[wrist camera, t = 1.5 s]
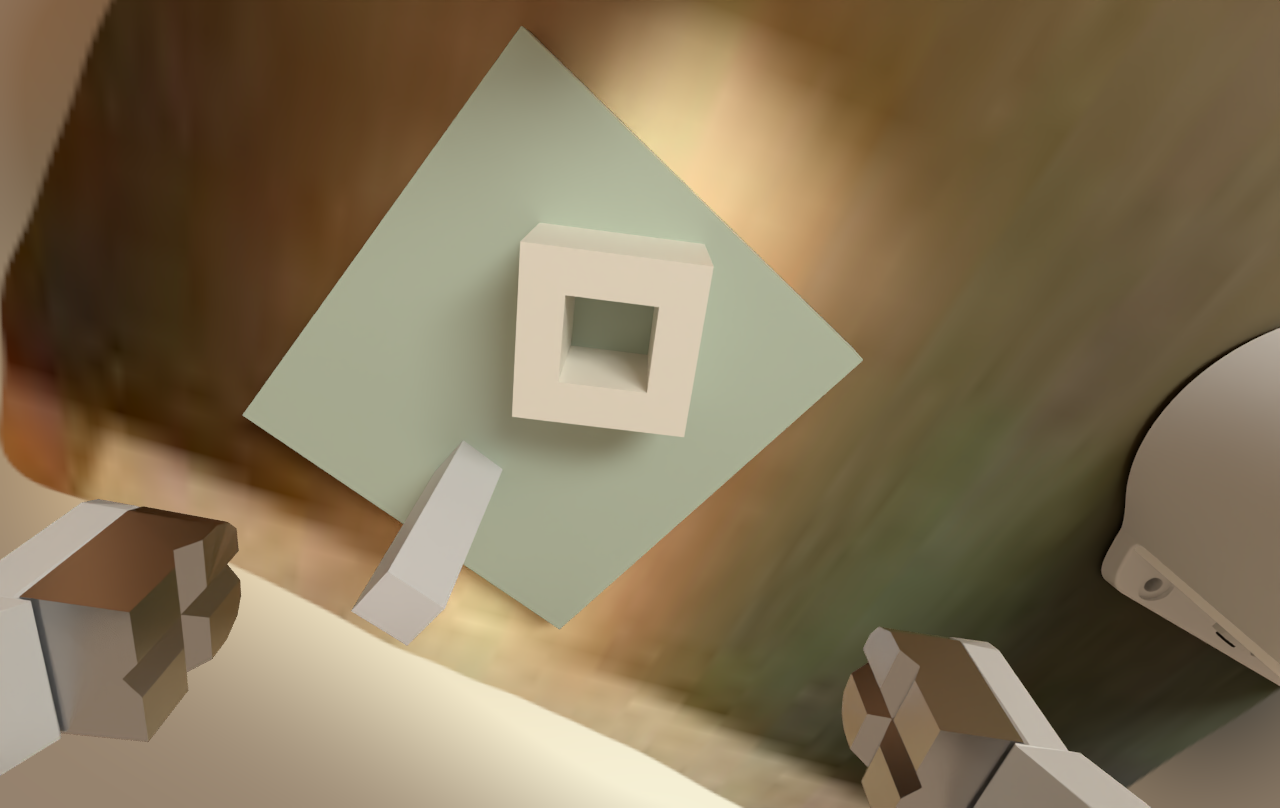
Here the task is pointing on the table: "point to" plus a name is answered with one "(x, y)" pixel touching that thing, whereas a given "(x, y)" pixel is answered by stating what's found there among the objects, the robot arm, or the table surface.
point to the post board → (485, 354)
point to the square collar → (596, 378)
